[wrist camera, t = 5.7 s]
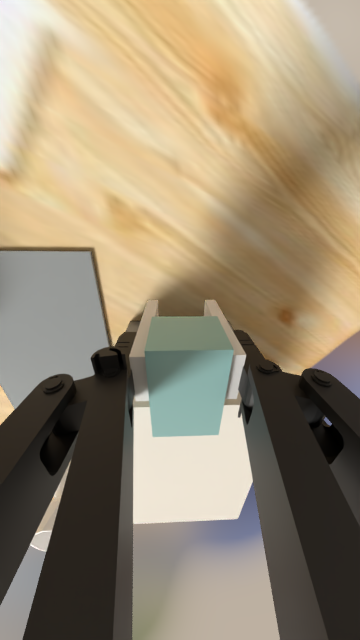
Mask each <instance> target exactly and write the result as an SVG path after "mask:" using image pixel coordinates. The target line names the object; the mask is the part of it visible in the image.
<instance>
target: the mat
mask: <svg viewBox="0 0 360 640" xmlns="http://www.w3.org/2000/svg"><path fill="white" fill-rule="evenodd" d="M105 347H110V343H109V338H108V333H107V328H106V323H105V318H104V313H103V308H102V303H101V298H100V293H99V287H98V282H97V277H96V272H95V267H94V262H93V257H92V252H91V251H0V385H1V387H2V388H3V390H4V392H5V393H6V395H7V397H8V398H9V400H10V402H11V403H12V405H13V407H14V409H16V408H17V407H18V406H19V405H20V403H21V402H22V401H23V400H24V399H25V398H26V397H27V396H28V395H29V394H30V393H31V392H32V390H33V389H34V388H35V387H36V386H37V385H38V384H39V383H41V382H42V381H43V380H45V379H47V378H48V377H51V376H54V375H57V374H69V375H70V376H72V377H73V380H74V381H75V380H79V379H83V378H87V377H90V376H93V375H94V374H95V373H94V370H93V366H92V362H91V359H90V358H91V356H92V355H93V354H94V353H95V352H96V351H98V350H100V349H102V348H105Z"/></svg>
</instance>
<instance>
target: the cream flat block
mask: <svg viewBox="0 0 360 640" xmlns="http://www.w3.org/2000/svg"><path fill="white" fill-rule="evenodd" d="M144 352H145V362H146V373H147V383H148V394H149V401H135V395H134V399H133V408H134V445H133V524H143V523H163V522H184V521H204V520H225V519H237V518H238V517H239V514H240V512H241V509H242V507H243V504H244V502H245V499H246V497H247V494H248V492H249V489H250V487H251V484H252V482H253V478H252V472H251V466H250V461H249V455H248V449H247V443H246V437H245V432H244V426H243V420H242V414H241V416H240V418H238V411H239V407H240V403H241V399H242V398H241V395H240V393H239V391H238V396H237V399H225V396H226V391H227V385H228V380H229V374H230V369H231V363H232V357H233V352H234V349H233V347H232V345H231V343H230V341H229V339H228V337H227V335H226V333H225V331H224V329H223V327H222V325H221V323H220V321H219V319H218V316H155V317H152V319H151V323H150V328H149V332H148V337H147V341H146V346H145V350H144Z"/></svg>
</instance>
